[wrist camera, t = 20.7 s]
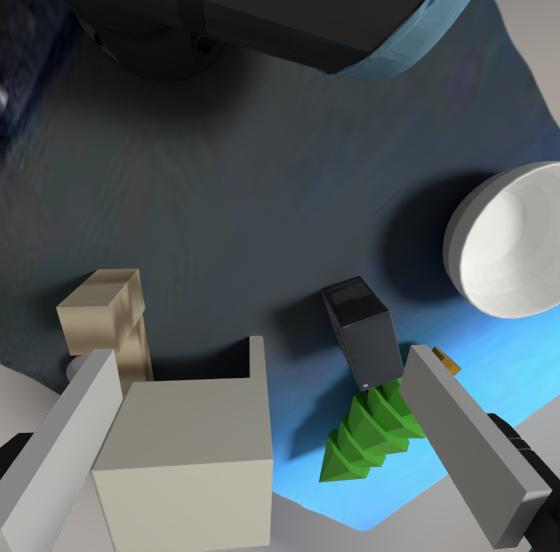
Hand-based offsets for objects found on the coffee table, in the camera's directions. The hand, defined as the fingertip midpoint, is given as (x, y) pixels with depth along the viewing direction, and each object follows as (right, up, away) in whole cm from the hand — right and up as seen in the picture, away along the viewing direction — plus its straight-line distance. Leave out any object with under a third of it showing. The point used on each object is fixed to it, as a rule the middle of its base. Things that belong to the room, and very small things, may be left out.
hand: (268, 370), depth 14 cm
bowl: (+29, +11, +30) cm, 43 cm away
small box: (+11, -1, +33) cm, 35 cm away
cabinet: (-10, -11, +35) cm, 38 cm away
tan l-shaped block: (-21, -4, +31) cm, 38 cm away
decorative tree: (+15, -17, +41) cm, 46 cm away
